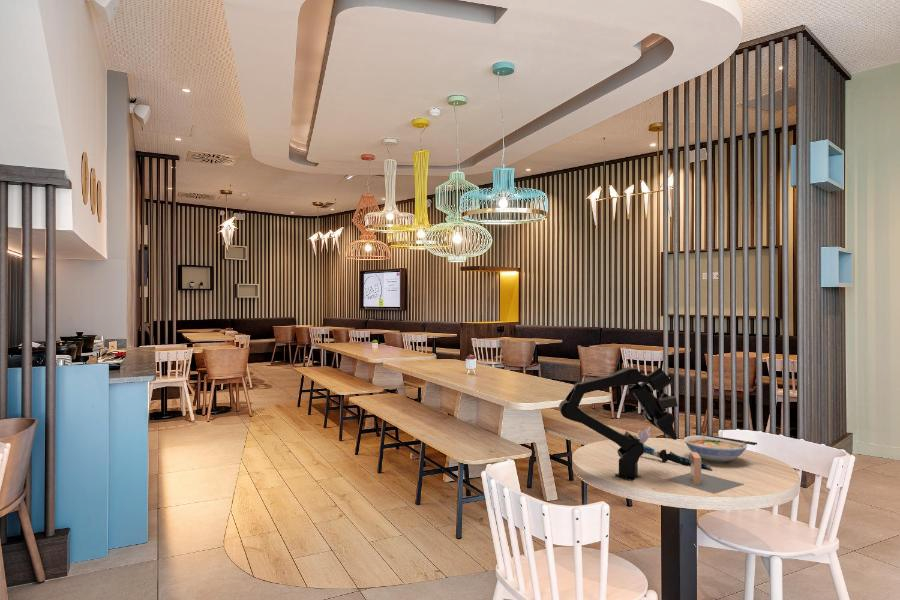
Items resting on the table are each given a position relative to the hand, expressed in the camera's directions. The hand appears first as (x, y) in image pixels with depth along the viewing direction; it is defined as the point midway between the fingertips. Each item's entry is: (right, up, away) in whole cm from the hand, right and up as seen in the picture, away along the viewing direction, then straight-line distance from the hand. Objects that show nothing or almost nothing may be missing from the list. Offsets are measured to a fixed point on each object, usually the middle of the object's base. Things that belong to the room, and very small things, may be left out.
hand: (671, 436), depth 199 cm
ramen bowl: (+27, -16, +25) cm, 40 cm away
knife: (+8, -15, +19) cm, 25 cm away
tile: (+6, -14, -5) cm, 16 cm away
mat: (+9, -15, -6) cm, 18 cm away
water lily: (+1, -16, +39) cm, 42 cm away
